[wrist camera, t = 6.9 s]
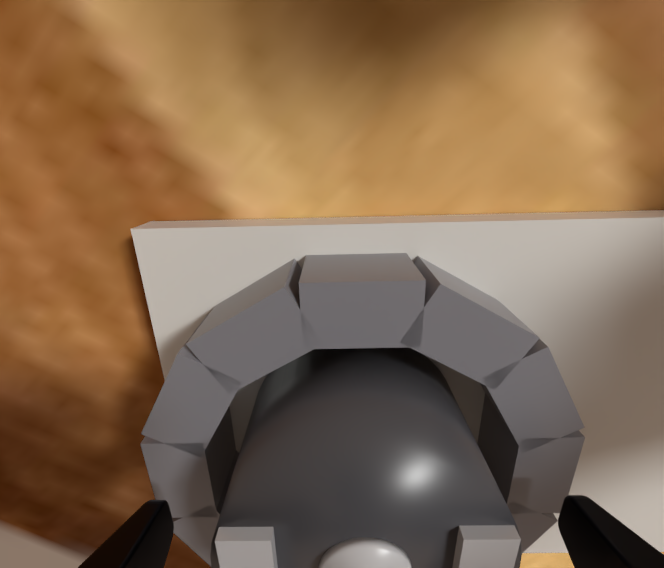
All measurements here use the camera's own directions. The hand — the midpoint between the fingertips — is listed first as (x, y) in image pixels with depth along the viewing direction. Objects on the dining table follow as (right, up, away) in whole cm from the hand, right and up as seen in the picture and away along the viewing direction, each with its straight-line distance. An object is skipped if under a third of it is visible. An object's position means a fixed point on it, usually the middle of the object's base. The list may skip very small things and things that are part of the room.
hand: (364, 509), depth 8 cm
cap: (0, +1, +3) cm, 3 cm away
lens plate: (+4, +1, +4) cm, 6 cm away
